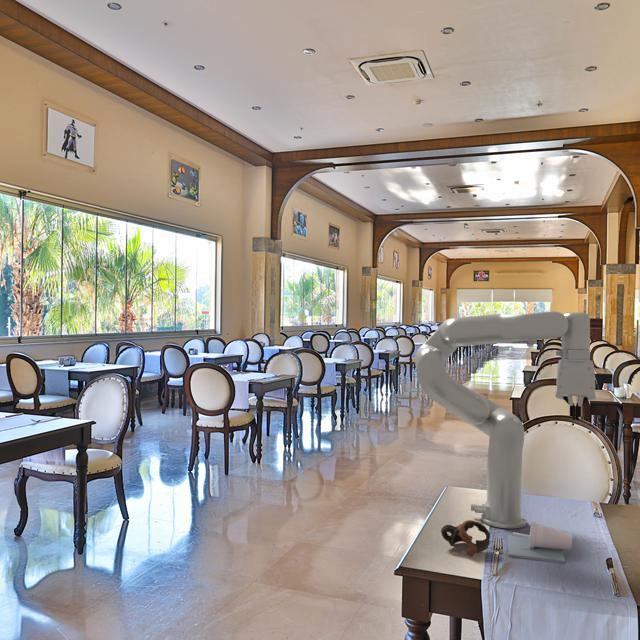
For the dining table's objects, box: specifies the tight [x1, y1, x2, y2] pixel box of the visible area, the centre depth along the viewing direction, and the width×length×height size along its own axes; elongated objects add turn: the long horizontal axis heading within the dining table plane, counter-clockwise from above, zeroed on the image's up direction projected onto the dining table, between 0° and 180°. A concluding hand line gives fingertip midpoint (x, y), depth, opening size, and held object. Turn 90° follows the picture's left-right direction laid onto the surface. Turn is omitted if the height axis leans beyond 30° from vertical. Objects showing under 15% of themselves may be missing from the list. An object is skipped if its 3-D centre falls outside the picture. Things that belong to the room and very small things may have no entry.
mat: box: [507, 534, 566, 564], centre depth 154 cm, size 13×14×1 cm
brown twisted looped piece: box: [440, 519, 491, 558], centre depth 153 cm, size 12×10×8 cm
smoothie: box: [512, 521, 573, 550], centre depth 154 cm, size 6×6×14 cm
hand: (575, 419), depth 174 cm, fingers closed
